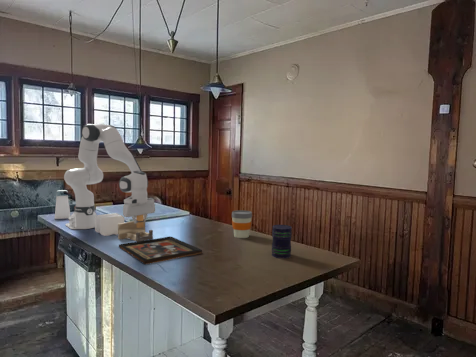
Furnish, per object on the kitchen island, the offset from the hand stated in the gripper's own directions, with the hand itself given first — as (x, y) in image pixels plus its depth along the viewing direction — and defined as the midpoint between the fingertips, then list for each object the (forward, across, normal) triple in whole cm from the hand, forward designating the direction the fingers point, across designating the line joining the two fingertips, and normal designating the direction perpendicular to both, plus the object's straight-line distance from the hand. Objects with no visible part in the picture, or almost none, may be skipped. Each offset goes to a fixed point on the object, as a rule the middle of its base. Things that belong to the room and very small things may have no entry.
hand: (139, 222), depth 209 cm
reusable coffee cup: (+10, -45, +40) cm, 61 cm away
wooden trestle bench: (+10, 0, -2) cm, 10 cm away
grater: (+9, +1, -93) cm, 93 cm away
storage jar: (+10, -28, +79) cm, 85 cm away
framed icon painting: (+11, +7, +26) cm, 29 cm away
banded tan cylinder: (+3, 0, 0) cm, 3 cm away
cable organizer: (+10, +5, -24) cm, 26 cm away
